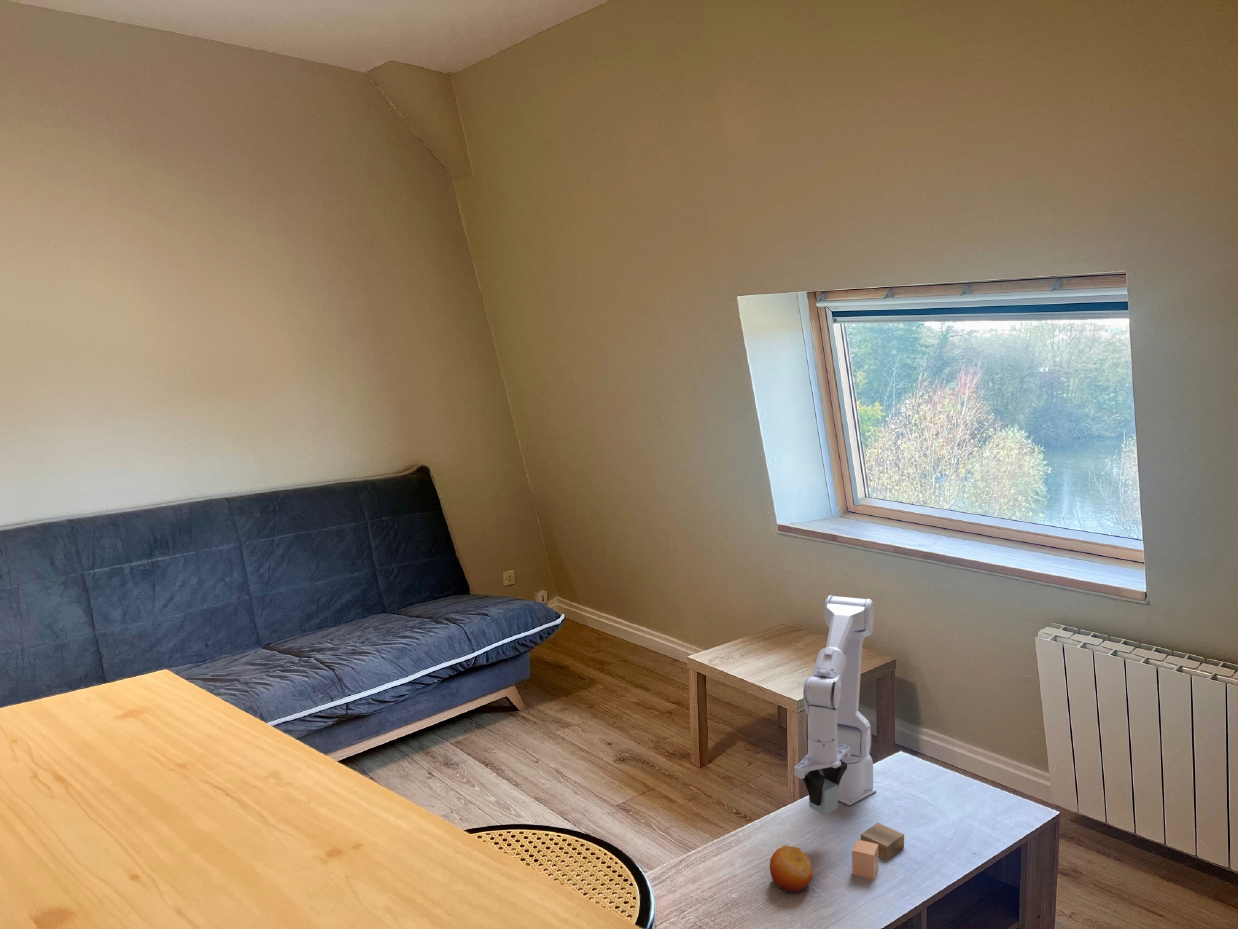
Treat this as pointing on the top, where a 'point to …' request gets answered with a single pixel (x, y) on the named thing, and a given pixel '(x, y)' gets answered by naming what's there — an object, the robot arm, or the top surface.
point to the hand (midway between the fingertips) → (823, 799)
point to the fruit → (790, 869)
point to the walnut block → (884, 839)
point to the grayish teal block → (827, 798)
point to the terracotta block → (865, 859)
